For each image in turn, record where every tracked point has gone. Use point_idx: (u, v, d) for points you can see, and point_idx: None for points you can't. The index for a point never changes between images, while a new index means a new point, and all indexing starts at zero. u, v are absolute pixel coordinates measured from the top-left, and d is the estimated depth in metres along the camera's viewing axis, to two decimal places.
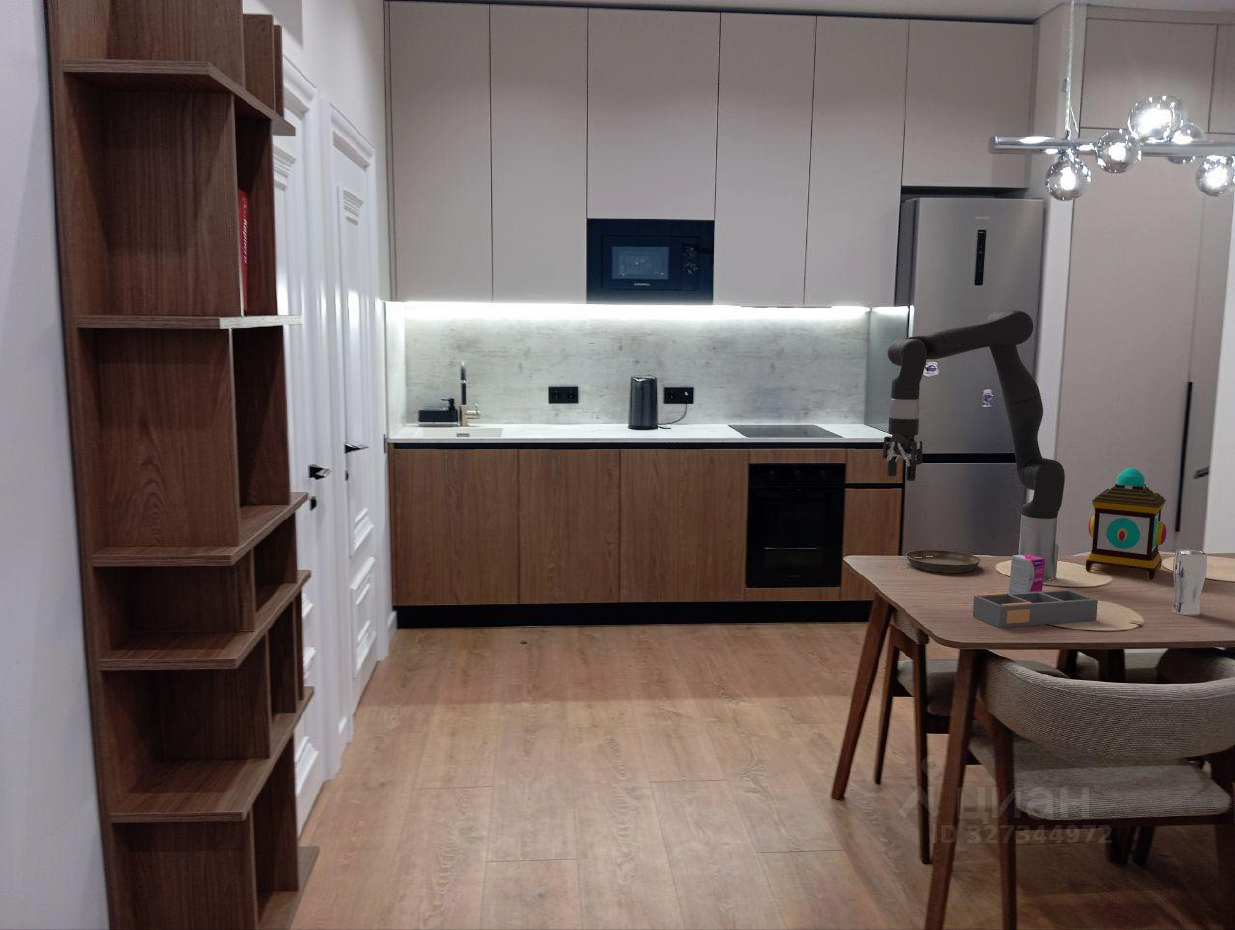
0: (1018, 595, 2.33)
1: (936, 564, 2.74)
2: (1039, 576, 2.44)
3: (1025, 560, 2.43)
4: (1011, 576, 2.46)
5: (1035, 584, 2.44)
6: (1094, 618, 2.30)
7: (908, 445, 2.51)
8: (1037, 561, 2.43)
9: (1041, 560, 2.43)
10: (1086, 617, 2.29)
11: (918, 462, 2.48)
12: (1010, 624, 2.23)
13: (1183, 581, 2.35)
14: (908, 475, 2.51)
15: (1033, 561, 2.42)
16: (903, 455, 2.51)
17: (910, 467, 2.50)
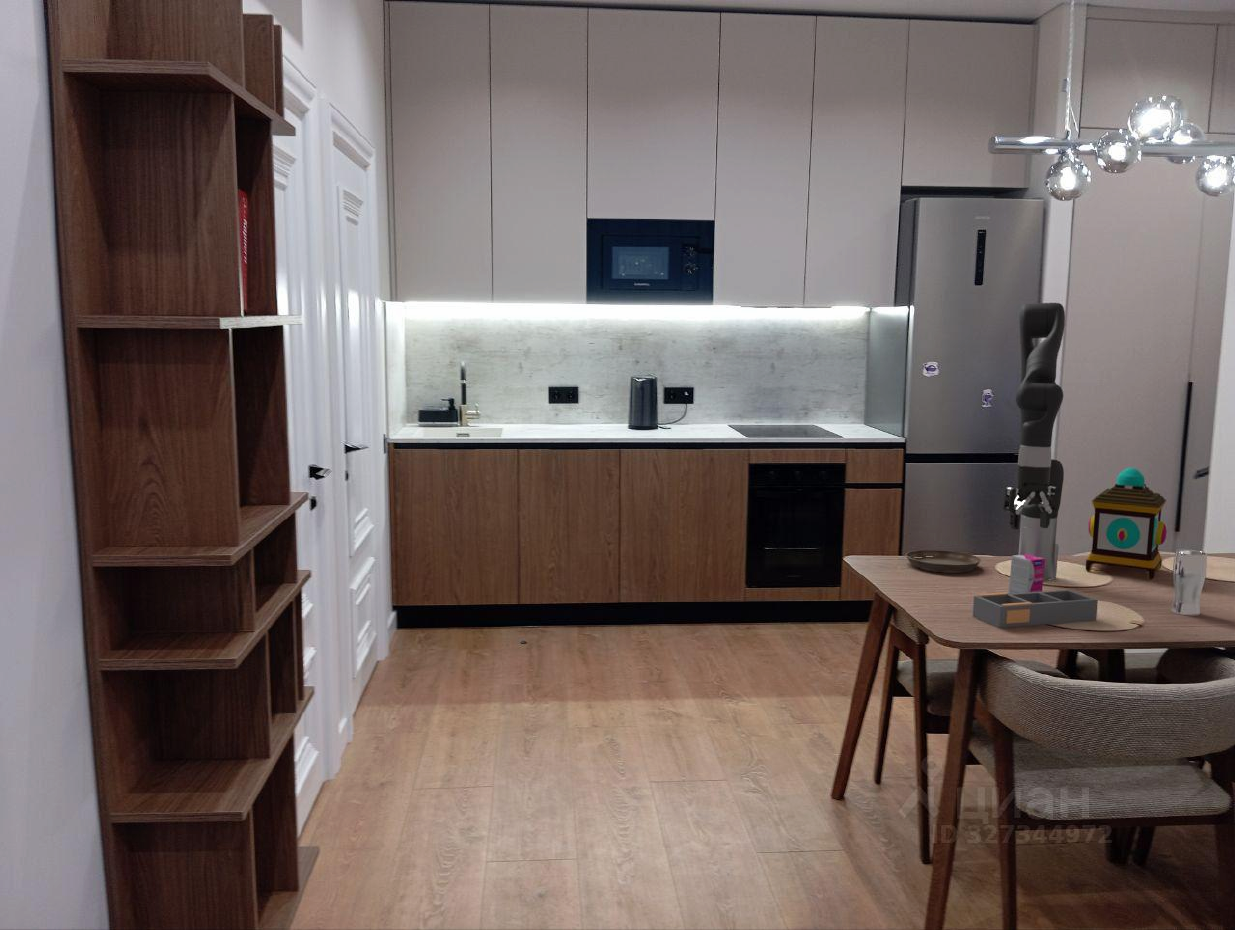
0: (1018, 595, 2.33)
1: (936, 564, 2.74)
2: (1040, 576, 2.44)
3: (1025, 560, 2.43)
4: (1011, 576, 2.46)
5: (1035, 584, 2.44)
6: (1094, 618, 2.30)
7: (1047, 492, 2.43)
8: (1037, 561, 2.43)
9: (1041, 560, 2.43)
10: (1086, 617, 2.29)
11: None
12: (1010, 624, 2.23)
13: (1183, 581, 2.35)
14: (1047, 522, 2.45)
15: (1033, 561, 2.42)
16: (1046, 503, 2.43)
17: (1049, 514, 2.45)
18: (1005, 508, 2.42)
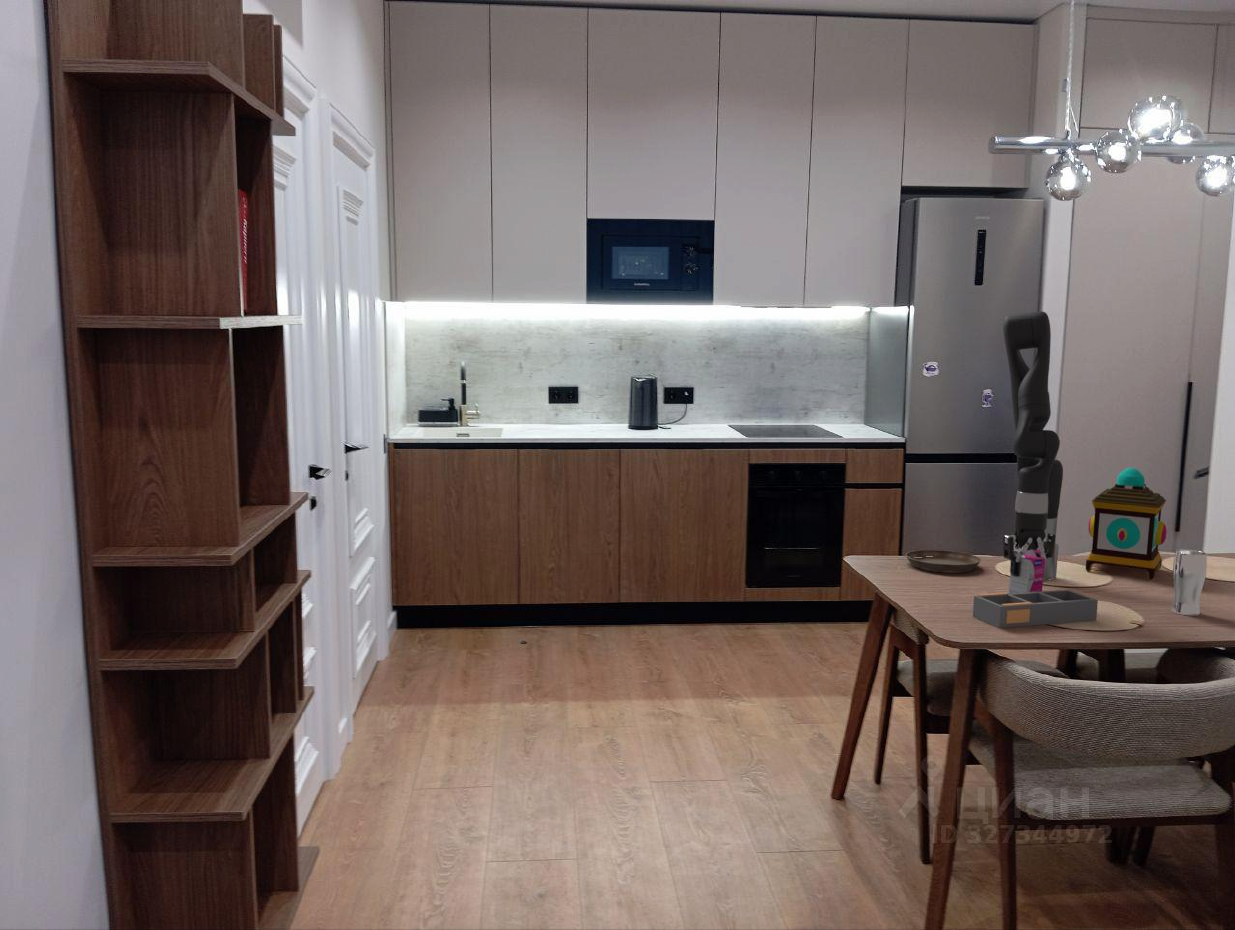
0: (1018, 595, 2.33)
1: (936, 564, 2.74)
2: (1040, 576, 2.44)
3: (1025, 560, 2.43)
4: (1011, 576, 2.46)
5: (1035, 584, 2.44)
6: (1094, 618, 2.30)
7: (1044, 538, 2.45)
8: (1037, 561, 2.43)
9: (1041, 560, 2.43)
10: (1086, 617, 2.29)
11: None
12: (1010, 624, 2.23)
13: (1183, 581, 2.35)
14: None
15: (1033, 561, 2.42)
16: (1042, 550, 2.44)
17: None
18: (1005, 556, 2.44)
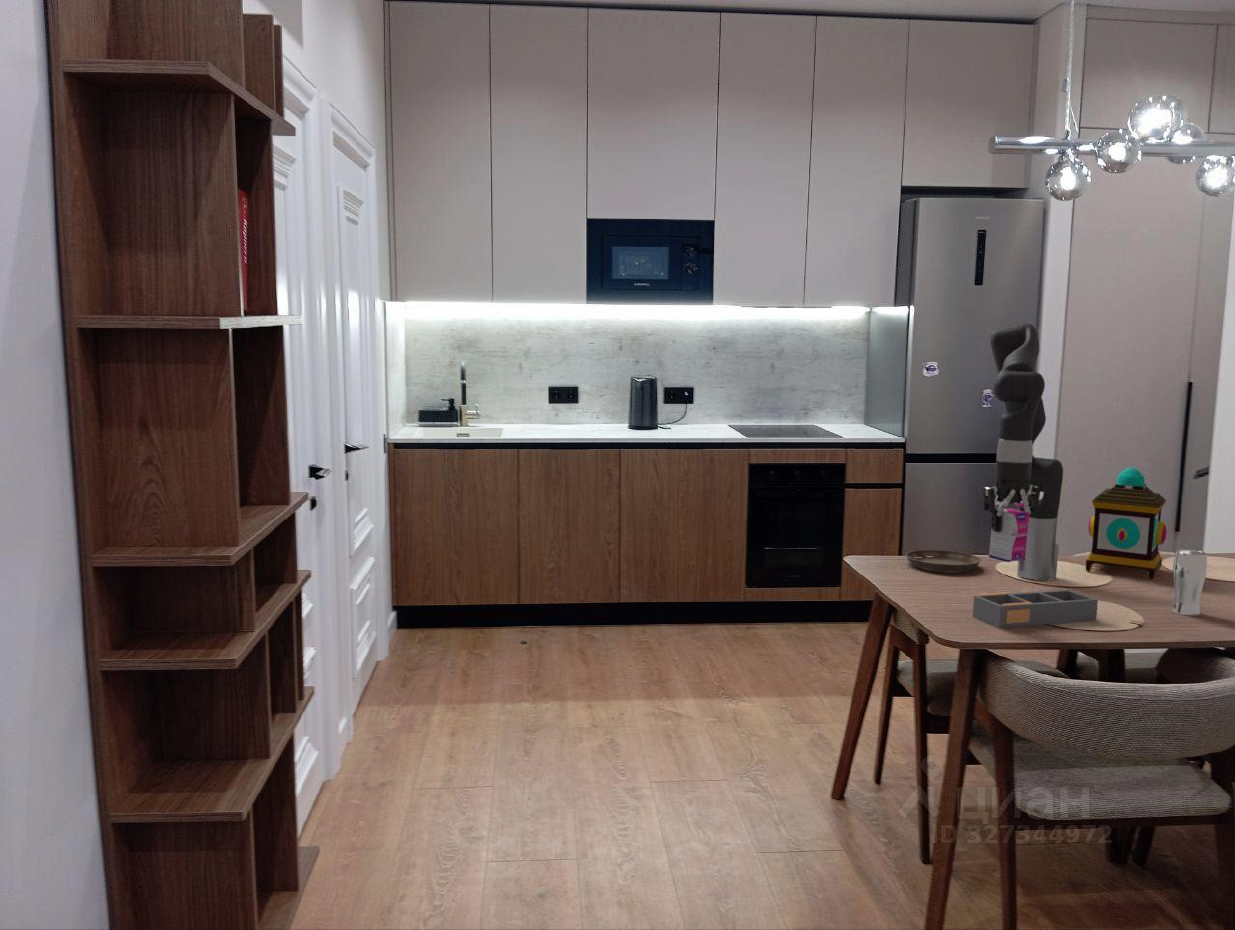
0: (1018, 595, 2.33)
1: (936, 564, 2.74)
2: (1023, 531, 2.24)
3: (1007, 514, 2.23)
4: (992, 532, 2.27)
5: (1018, 540, 2.24)
6: (1094, 618, 2.30)
7: (1028, 490, 2.25)
8: (1020, 515, 2.23)
9: (1025, 514, 2.23)
10: (1086, 617, 2.29)
11: None
12: (1010, 624, 2.23)
13: (1183, 581, 2.35)
14: None
15: (1016, 515, 2.22)
16: (1025, 503, 2.24)
17: None
18: (986, 509, 2.24)
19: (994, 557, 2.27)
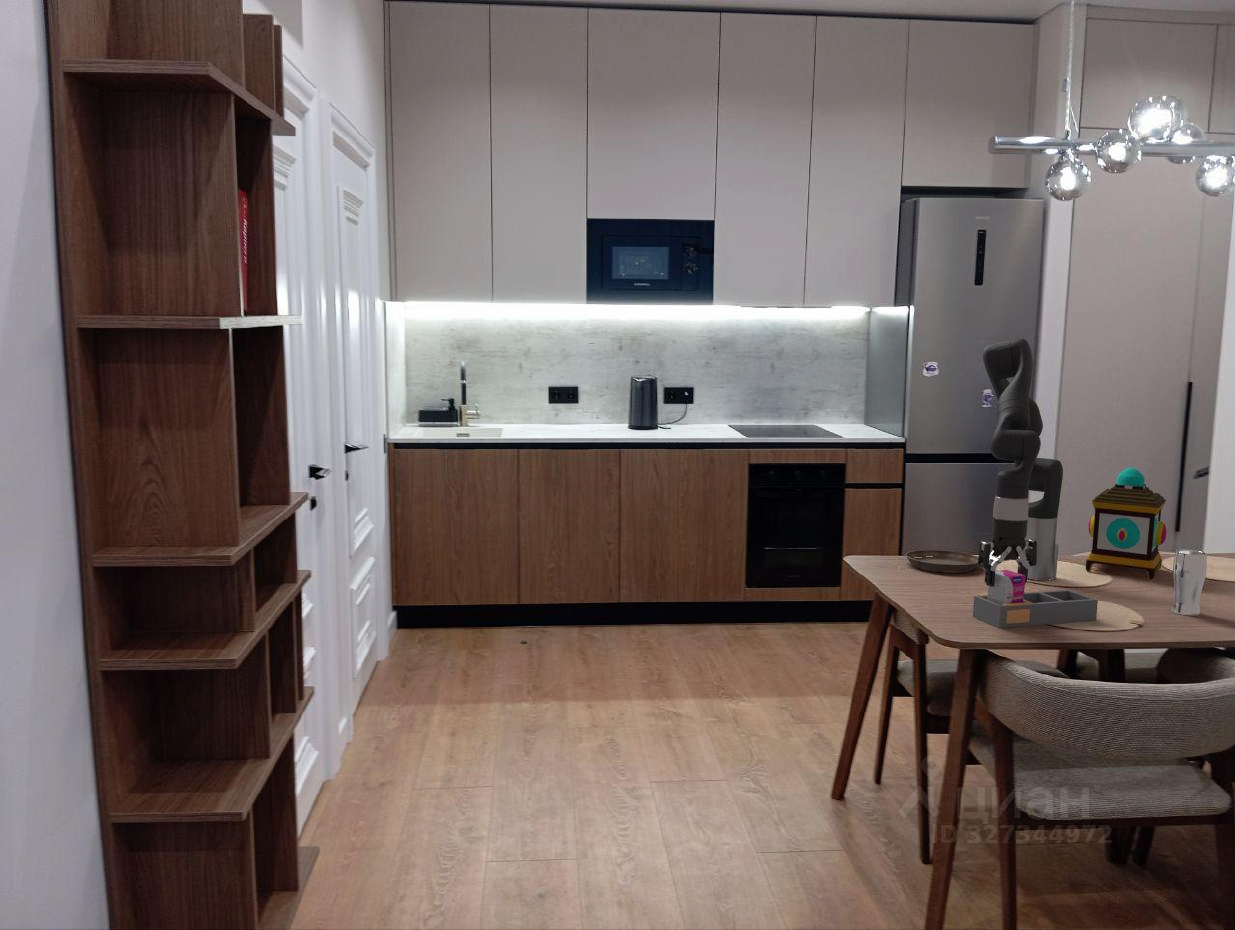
0: None
1: (936, 564, 2.74)
2: (1019, 594, 2.26)
3: (1003, 577, 2.25)
4: (989, 594, 2.29)
5: None
6: (1094, 618, 2.30)
7: (1025, 546, 2.27)
8: (1016, 578, 2.25)
9: (1021, 577, 2.25)
10: (1086, 617, 2.29)
11: None
12: (1010, 624, 2.23)
13: (1183, 581, 2.35)
14: (1025, 578, 2.28)
15: (1012, 578, 2.24)
16: (1023, 558, 2.26)
17: (1026, 569, 2.28)
18: (979, 564, 2.25)
19: None
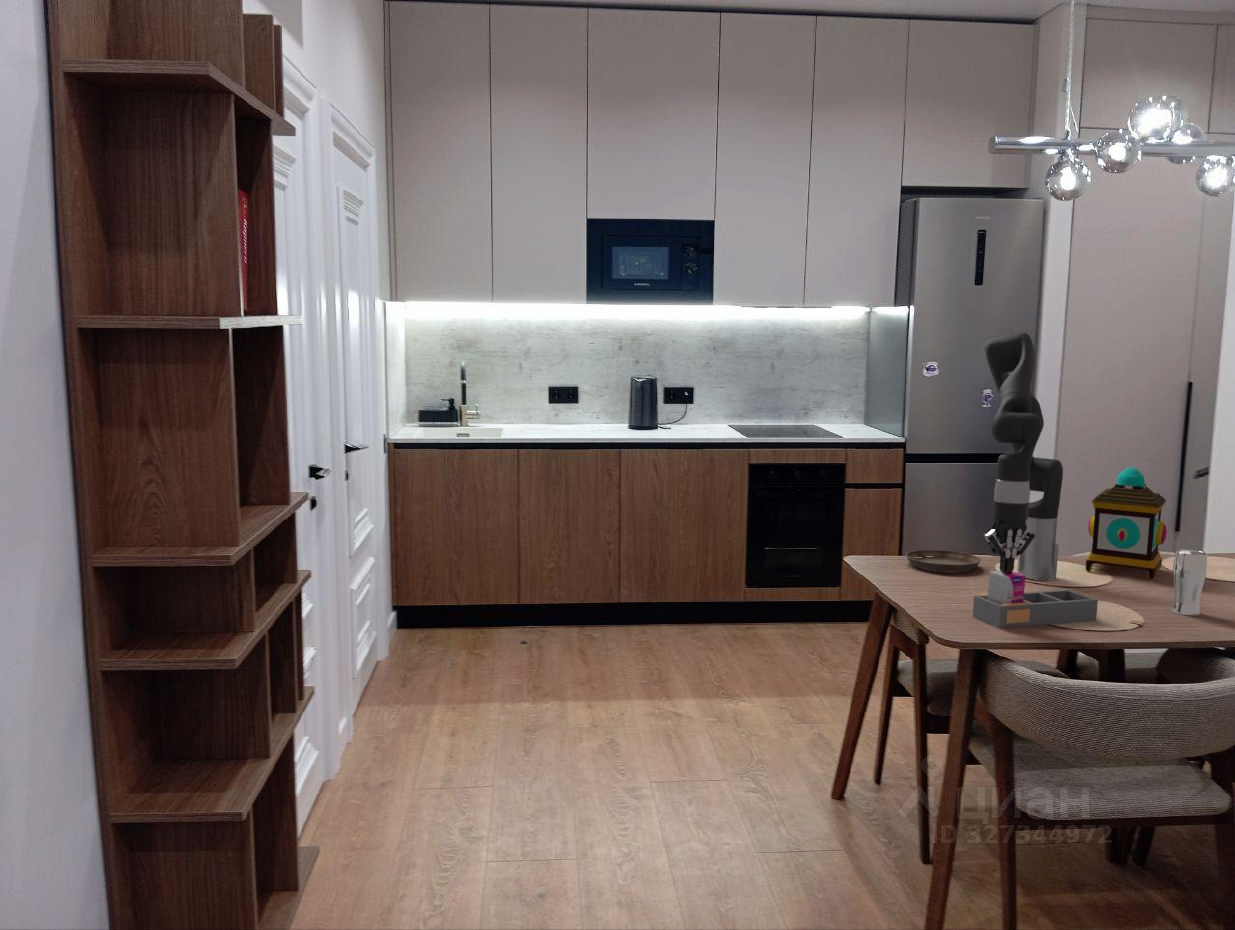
0: None
1: (936, 564, 2.74)
2: (1019, 594, 2.26)
3: (1003, 577, 2.25)
4: (989, 594, 2.29)
5: None
6: (1094, 618, 2.30)
7: (1024, 531, 2.26)
8: (1016, 578, 2.25)
9: (1021, 577, 2.25)
10: (1086, 617, 2.29)
11: None
12: (1010, 624, 2.23)
13: (1183, 581, 2.35)
14: (1011, 567, 2.26)
15: (1012, 578, 2.24)
16: (1016, 544, 2.25)
17: (1013, 558, 2.26)
18: (994, 551, 2.26)
19: None
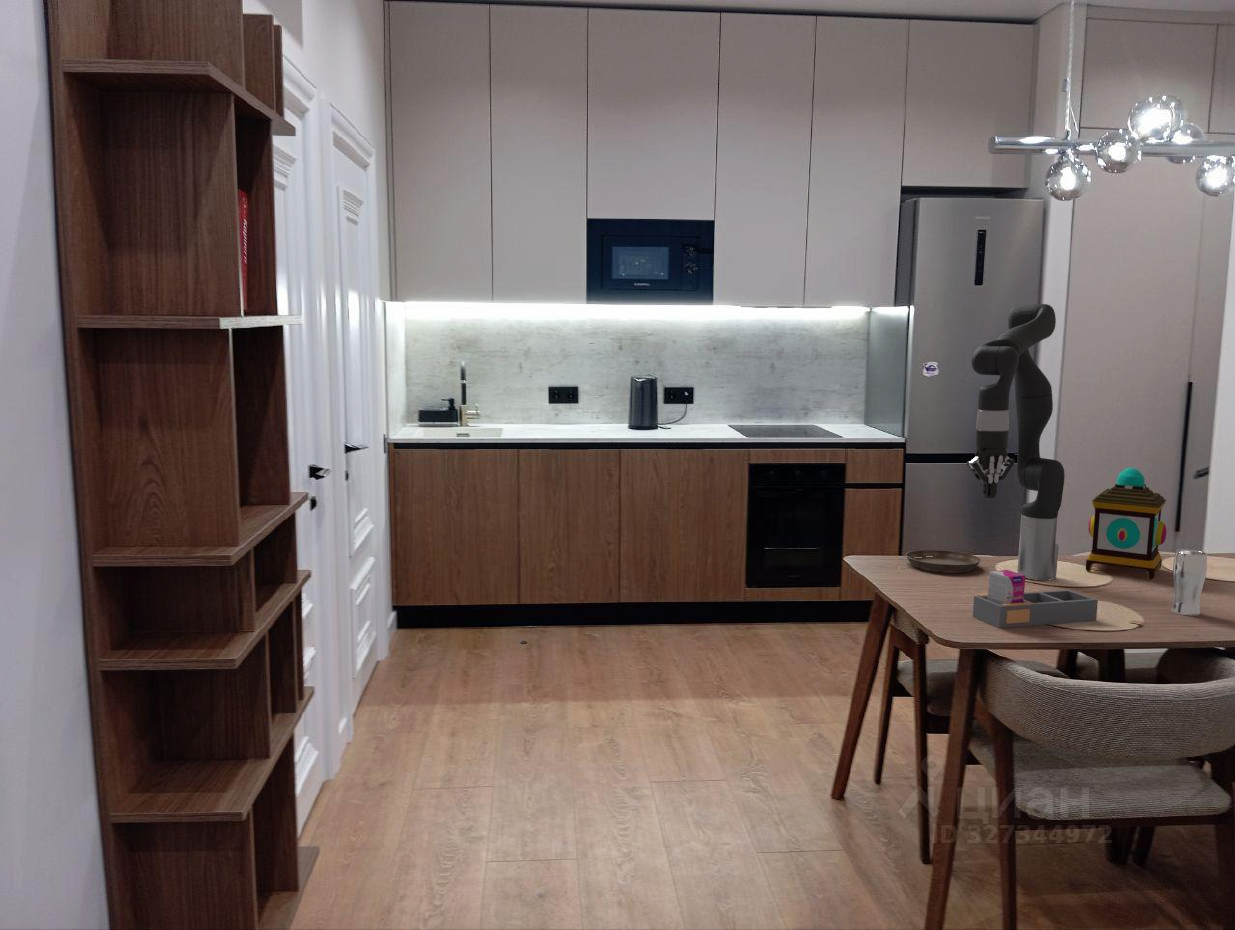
0: None
1: (936, 564, 2.74)
2: (1019, 594, 2.26)
3: (1003, 577, 2.25)
4: (989, 594, 2.29)
5: None
6: (1094, 618, 2.30)
7: (1004, 458, 2.42)
8: (1016, 578, 2.25)
9: (1021, 577, 2.25)
10: (1086, 617, 2.29)
11: None
12: (1010, 624, 2.23)
13: (1183, 581, 2.35)
14: (994, 492, 2.42)
15: (1012, 578, 2.24)
16: (998, 470, 2.41)
17: (995, 483, 2.42)
18: (978, 477, 2.42)
19: None
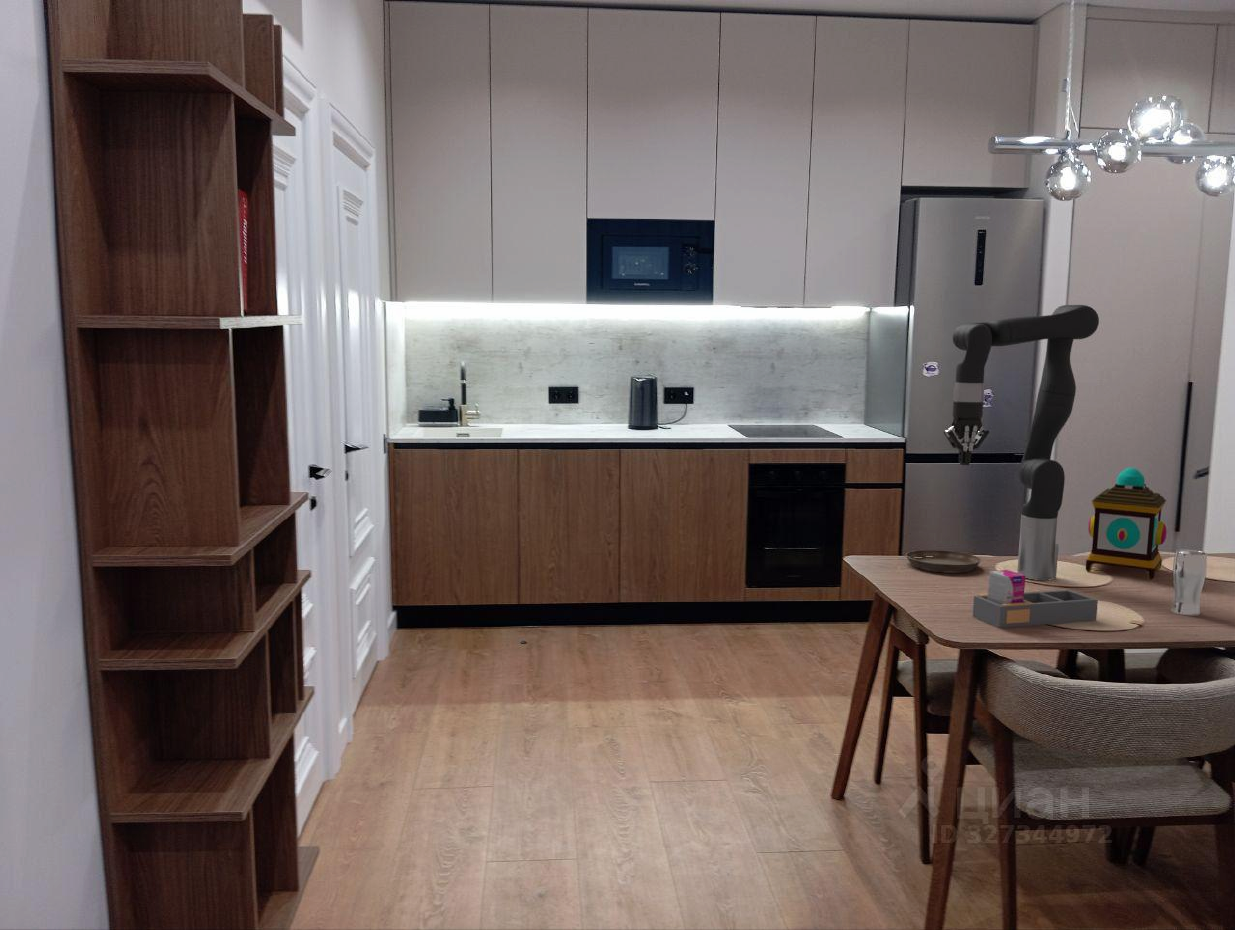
0: None
1: (936, 564, 2.74)
2: (1019, 594, 2.26)
3: (1003, 577, 2.25)
4: (989, 594, 2.29)
5: None
6: (1094, 618, 2.30)
7: (979, 428, 2.60)
8: (1016, 578, 2.25)
9: (1021, 577, 2.25)
10: (1086, 617, 2.29)
11: None
12: (1010, 624, 2.23)
13: (1183, 581, 2.35)
14: (969, 460, 2.60)
15: (1012, 578, 2.24)
16: (973, 439, 2.59)
17: (970, 452, 2.60)
18: (954, 445, 2.60)
19: None
